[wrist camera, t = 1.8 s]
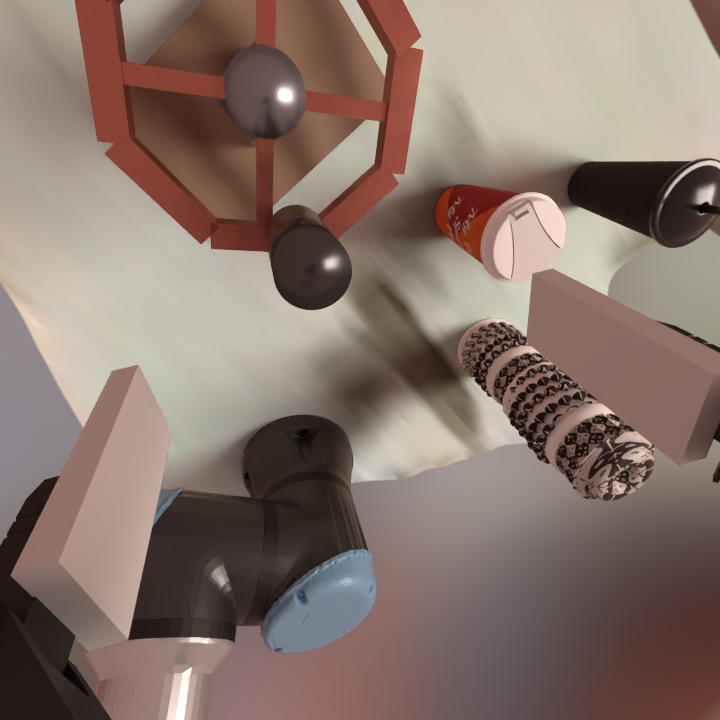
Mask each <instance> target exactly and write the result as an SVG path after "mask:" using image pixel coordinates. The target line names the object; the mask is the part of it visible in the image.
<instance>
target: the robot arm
mask: <svg viewBox="0 0 720 720" xmlns="http://www.w3.org/2000/svg"><path fill="white" fill-rule="evenodd" d="M526 342H527V343H528V344H529V345H530V346H532V347H533V348H534V349H535V350H536V351H538V352H539V353H540V354H541V355H543V356H544V357H545V358H546V359H548V360H549V361H550V362H551V363H553V364H554V365H555V366H556V367H557V368H559V369H560V370H561V371H562V372H564V373H565V374H566V375H567V376H569V377H570V378H571V379H572V380H574V381H575V382H576V383H577V384H578V385H580V386H581V387H582V388H583V389H585V390H586V391H587V392H588V393H590V394H591V395H592V396H593V397H595V398H596V399H597V400H598V401H600V402H601V403H602V404H603V405H604V406H606V407H607V408H608V409H609V410H611V411H612V412H613V413H614V414H616V415H617V416H618V417H619V418H621V419H622V420H623V421H624V422H625V423H627V424H628V425H629V426H630V427H632V428H633V429H634V430H635V431H637V432H638V433H639V434H640V435H642V436H643V437H644V438H645V439H646V440H648V441H649V442H650V443H651V444H653V445H654V446H655V447H656V448H658V449H659V450H660V451H661V452H663V453H664V454H665V455H666V456H667V457H669V458H670V459H671V460H672V461H674V462H675V463H676V464H678V465H679V466H681V465H684V464H687V463H690V462H693V461H696V460H699V459H703V458H706V456H707V453H708V451H709V448H710V446H711V444H712V442H713V440H714V439H715V440H717V441H718V442H720V348H719V347H717V346H715V345H713V344H708V342H707V341H705V340H703V339H701V338H699V337H694V336H693V334H691V333H689V332H686V331H685V330H683V329H680V328H678V327H677V326H674V325H670V324H667V323H663V322H659V321H655V320H653V319H651V318H649V317H647V316H645V315H643V314H641V313H639V312H637V311H635V310H633V309H631V308H629V307H627V306H625V305H623V304H621V303H619V302H617V301H615V300H614V299H611V298H610V297H608V296H606V295H604V294H602V293H600V292H598V291H596V290H594V289H592V288H590V287H588V286H586V285H584V284H582V283H580V282H578V281H576V280H574V279H572V278H570V277H568V276H566V275H564V274H562V273H560V272H558V271H556V270H554V269H549V270H545V271H540V272H536V273H532V283H531V294H530V306H529V317H528V328H527V339H526ZM171 437H172V431H171V429H170V427H169V425H168V423H167V421H166V419H165V417H164V415H163V413H162V411H161V409H160V407H159V405H158V403H157V401H156V399H155V397H154V395H153V393H152V391H151V389H150V387H149V385H148V383H147V381H146V379H145V377H144V375H143V373H142V371H141V369H140V367H139V365H136V366H131V367H127V368H123V369H118V370H114V371H112V372H111V374H110V376H109V378H108V380H107V382H106V384H105V386H104V388H103V390H102V392H101V394H100V396H99V398H98V400H97V402H96V404H95V406H94V408H93V410H92V412H91V414H90V416H89V418H88V420H87V422H86V425H85V427H84V429H83V431H82V433H81V435H80V437H79V439H78V441H77V443H76V445H75V447H74V449H73V451H72V453H71V455H70V457H69V459H68V461H67V463H66V465H65V467H64V469H63V471H62V473H61V475H60V476H58V477H53V478H50V479H46V480H44V481H43V482H42V483H41V484H40V485H39V486H38V487H37V489H35V490H34V491H33V493H32V494H31V495H30V496H29V497H28V498H27V499H26V500H25V502H24V504H23V506H22V508H21V510H20V511H19V513H18V515H17V517H16V522H13V524H12V526H11V528H10V529H9V531H8V533H7V538H5V539H4V540H3V542H2V544H1V545H0V720H208V713H209V705H210V696H211V688H212V679H213V674H214V672H215V670H216V669H217V667H218V666H219V665H220V664H221V662H222V661H223V660H224V659H225V658H226V657H227V656H228V655H229V653H230V652H231V651H232V650H233V649H234V644H235V634H236V626H261V635H262V637H263V639H264V642H265V644H266V645H267V647H268V648H270V649H271V650H273V649H274V650H275V651H276V652H279V653H282V654H294V653H302V652H306V651H310V650H314V649H317V648H320V647H322V646H325V645H327V644H329V643H332V642H333V641H335V640H337V639H339V638H340V637H342V636H344V635H345V634H347V633H348V632H350V631H351V630H352V629H354V628H355V627H356V626H357V625H358V624H359V623H360V622H361V621H362V620H363V619H364V618H365V617H366V615H367V614H368V613H369V611H370V610H371V608H372V606H373V603H374V601H375V597H376V589H377V588H376V580H375V575H374V570H373V565H372V556H371V554H370V552H368V548H367V545H366V541H365V538H364V534H363V531H362V528H361V524H360V521H359V518H358V514H357V511H356V508H355V504H354V501H353V498H352V494H351V491H350V486H351V474H352V468H353V453H352V449H351V446H350V443H349V440H348V438H347V436H346V434H345V433H344V431H343V430H342V429H341V428H340V427H339V426H338V425H336V424H335V423H333V422H331V421H329V420H327V419H324V418H321V417H317V416H310V415H299V416H291V417H287V418H283V419H280V420H277V421H275V422H273V423H271V424H269V425H267V426H265V427H264V428H262V429H261V430H260V431H259V432H257V433H256V434H255V435H254V436H253V438H252V439H251V440H250V441H249V443H248V444H247V446H246V448H245V451H244V454H243V459H242V474H243V480H244V483H245V486H246V488H247V490H248V492H249V494H250V496H251V498H249V497H240V496H230V495H221V494H213V493H205V492H197V491H188V490H184V488H178V489H160V488H161V483H162V479H163V474H164V469H165V465H166V460H167V455H168V451H169V446H170V441H171ZM719 480H720V462H719V464H718V467H717V469H716V471H715V473H714V475H713V482H716V483H718V482H719ZM74 639H76V640H77V641H79V643H80V644H82V645H83V646H84V647H85V648H86V649H85V653H84V656H85V657H86V659H87V660H88V662H89V663H90V665H91V666H92V668H93V670H94V671H95V673H96V675H97V679H98V685H97V689H96V693H95V694H94V693H93V691H92V690H91V688H90V687H89V685H88V684H87V682H86V681H85V680H84V678H83V677H82V675H81V674H80V672H79V671H78V669H77V668H76V666H75V665H74V664H72V663H71V662H70V661H69V660H68V658H69V655H70V651H71V648H72V645H73V642H74Z"/></svg>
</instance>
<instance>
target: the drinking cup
mask: <svg viewBox="0 0 720 720" xmlns="http://www.w3.org/2000/svg"><path fill="white" fill-rule="evenodd" d="M568 196H569V199H570V201H571V202H572V203H573V204H575V205H577V206H579V207H581V208H584V209H586V210H588V211H590V212H593V213H595V214H597V215H600V216H602V217H604V218H607V219H609V220H611V221H614V222H616V223H618V224H621V225H623V226H625V227H627V228H630V229H632V230H634V231H637V232H639V233H641V234H644V235H646V236H648V237H651V238H653V239H654V240H655V241H656V242H657V243H658V244H660V245H662V246H665V247H668V248H676V247H681V246H685V245H687V244H689V243H691V242H693V241H695V240H696V239H698V238H699V237H700V236H701V235H703V234H704V233H705V232H706V231H707V230H708V229H709V228H710V227H711V225H712V224H713V223H714V222H715V220H716V219H717V217H718V216H720V161H719V160H716V159H711V158H701V159H697V160H694V161H651V162H588V163H585V164H584V165H582V166H581V167H579V168H578V169H577V170H576V171H575V173H574V174H573V176H572V178H571V180H570V182H569V186H568Z"/></svg>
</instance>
